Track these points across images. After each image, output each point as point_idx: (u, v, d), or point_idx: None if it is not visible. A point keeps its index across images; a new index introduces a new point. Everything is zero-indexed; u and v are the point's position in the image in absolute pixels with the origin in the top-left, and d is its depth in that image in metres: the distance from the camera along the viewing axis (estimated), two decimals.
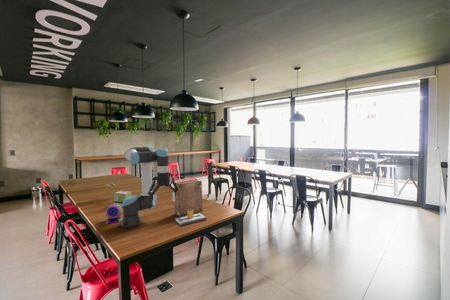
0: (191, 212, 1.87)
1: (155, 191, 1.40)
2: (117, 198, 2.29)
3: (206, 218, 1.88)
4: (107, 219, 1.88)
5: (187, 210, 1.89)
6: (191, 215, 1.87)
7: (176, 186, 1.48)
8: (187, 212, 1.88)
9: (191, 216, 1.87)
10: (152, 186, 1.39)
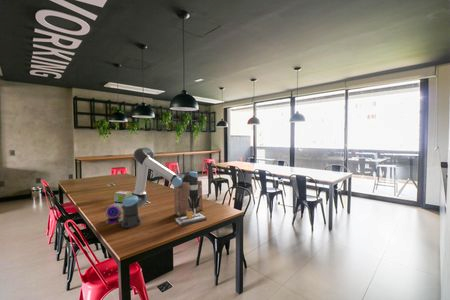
0: (190, 212, 1.86)
1: (193, 204, 1.88)
2: (117, 198, 2.29)
3: (206, 218, 1.88)
4: (107, 219, 1.88)
5: None
6: (190, 215, 1.86)
7: (198, 203, 1.91)
8: (186, 212, 1.88)
9: (190, 216, 1.86)
10: (189, 202, 1.86)
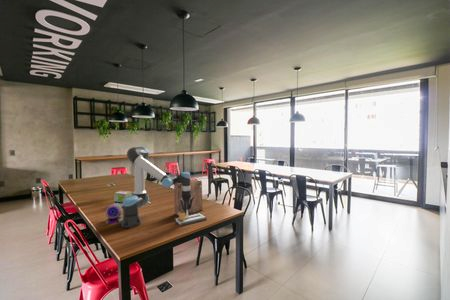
0: (183, 214, 1.82)
1: None
2: (117, 198, 2.29)
3: (206, 218, 1.88)
4: (107, 219, 1.88)
5: (179, 212, 1.84)
6: (183, 217, 1.82)
7: (191, 204, 1.87)
8: (179, 214, 1.84)
9: (183, 218, 1.82)
10: (181, 203, 1.82)
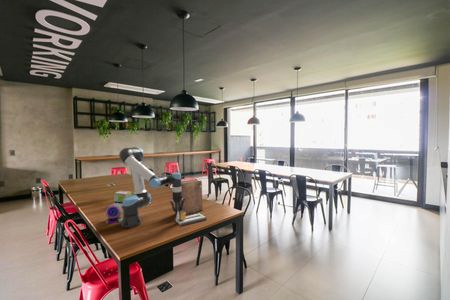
0: (183, 214, 1.83)
1: (176, 207, 1.80)
2: (117, 198, 2.29)
3: (206, 218, 1.88)
4: (107, 219, 1.88)
5: None
6: (183, 217, 1.83)
7: (182, 206, 1.83)
8: None
9: (183, 218, 1.83)
10: (172, 205, 1.78)
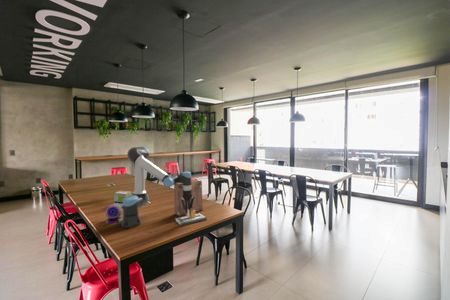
0: (193, 212, 1.88)
1: None
2: (117, 198, 2.29)
3: (206, 218, 1.88)
4: (107, 219, 1.88)
5: None
6: (193, 215, 1.88)
7: (192, 204, 1.88)
8: None
9: (193, 216, 1.88)
10: (183, 203, 1.83)
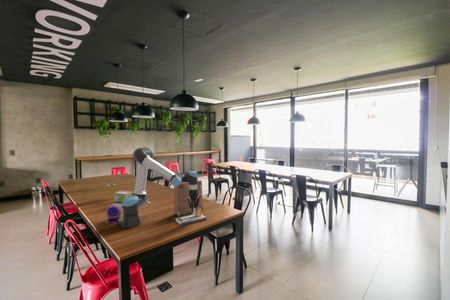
0: (199, 210, 1.91)
1: (193, 204, 1.88)
2: (117, 198, 2.29)
3: (206, 218, 1.88)
4: (107, 219, 1.88)
5: None
6: (199, 213, 1.91)
7: (198, 203, 1.91)
8: None
9: (199, 214, 1.91)
10: (189, 202, 1.86)
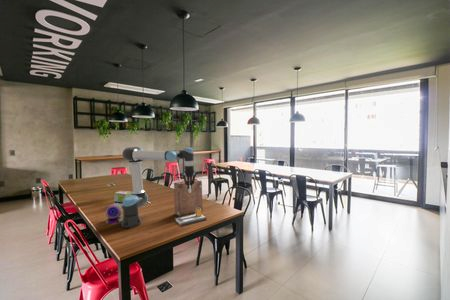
0: (199, 210, 1.91)
1: None
2: (117, 198, 2.29)
3: (206, 218, 1.88)
4: (107, 219, 1.88)
5: None
6: (199, 213, 1.91)
7: (194, 180, 1.88)
8: None
9: (199, 214, 1.91)
10: (184, 178, 1.83)
